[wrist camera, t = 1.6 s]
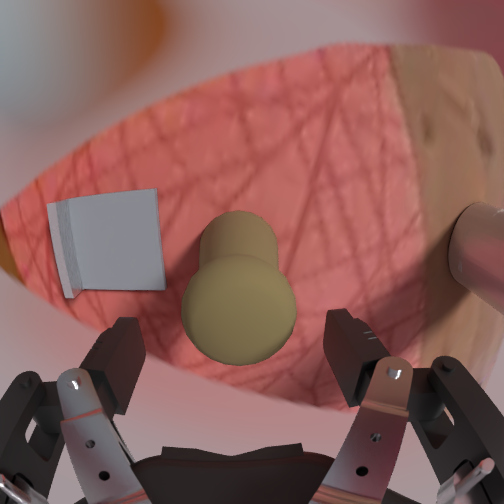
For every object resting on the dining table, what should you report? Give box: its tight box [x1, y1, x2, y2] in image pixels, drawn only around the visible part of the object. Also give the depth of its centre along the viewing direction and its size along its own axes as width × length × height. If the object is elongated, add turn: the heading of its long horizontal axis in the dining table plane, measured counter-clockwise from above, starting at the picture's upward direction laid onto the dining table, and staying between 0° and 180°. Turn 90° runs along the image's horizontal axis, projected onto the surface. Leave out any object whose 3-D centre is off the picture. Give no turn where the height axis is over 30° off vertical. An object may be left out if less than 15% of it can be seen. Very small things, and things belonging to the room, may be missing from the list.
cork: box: [181, 211, 297, 366], centre depth 16 cm, size 6×6×11 cm
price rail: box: [47, 198, 84, 298], centre depth 19 cm, size 1×8×2 cm, turn 1°
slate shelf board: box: [68, 188, 167, 290], centre depth 20 cm, size 8×8×1 cm
